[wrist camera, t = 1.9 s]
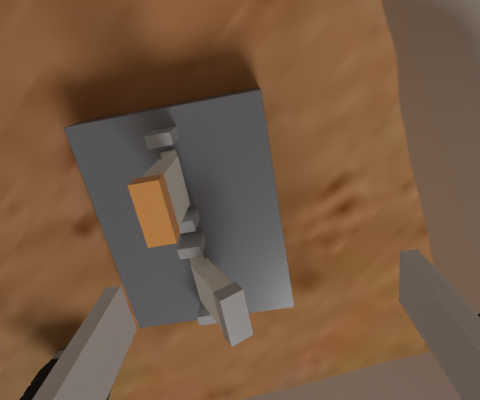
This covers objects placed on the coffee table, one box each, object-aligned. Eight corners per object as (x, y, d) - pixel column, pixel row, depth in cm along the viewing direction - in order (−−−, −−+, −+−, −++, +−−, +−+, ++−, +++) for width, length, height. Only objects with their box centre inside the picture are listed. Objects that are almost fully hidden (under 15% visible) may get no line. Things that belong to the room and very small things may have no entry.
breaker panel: (148, 306, 46) (131, 347, 39) (82, 121, 36) (45, 133, 30) (289, 286, 44) (297, 325, 37) (259, 87, 35) (262, 91, 28)
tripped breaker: (173, 205, 35) (149, 251, 26) (158, 151, 33) (126, 181, 24) (194, 202, 35) (177, 246, 26) (181, 147, 33) (157, 176, 24)
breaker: (195, 299, 39) (232, 349, 31) (183, 256, 37) (219, 298, 29) (213, 290, 40) (253, 337, 32) (202, 248, 38) (242, 286, 30)
